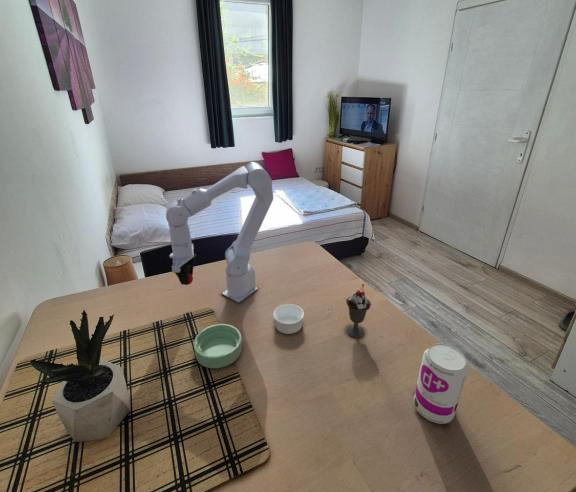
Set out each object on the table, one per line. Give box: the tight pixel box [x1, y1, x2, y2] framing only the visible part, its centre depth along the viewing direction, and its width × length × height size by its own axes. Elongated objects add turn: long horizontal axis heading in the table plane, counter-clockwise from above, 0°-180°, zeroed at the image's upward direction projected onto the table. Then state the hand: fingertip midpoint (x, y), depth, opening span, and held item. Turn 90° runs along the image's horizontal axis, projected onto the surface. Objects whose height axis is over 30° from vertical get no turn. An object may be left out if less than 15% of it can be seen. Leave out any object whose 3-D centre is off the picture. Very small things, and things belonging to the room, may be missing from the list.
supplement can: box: [413, 342, 469, 425], centre depth 68 cm, size 8×8×15 cm
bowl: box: [193, 323, 243, 369], centre depth 85 cm, size 12×12×4 cm
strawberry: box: [186, 273, 194, 286], centre depth 102 cm, size 4×4×4 cm
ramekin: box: [272, 303, 305, 335], centre depth 94 cm, size 9×9×4 cm
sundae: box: [345, 283, 372, 339], centre depth 90 cm, size 7×7×15 cm
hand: (187, 280), depth 102 cm, fingers closed on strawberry, 3 cm apart
